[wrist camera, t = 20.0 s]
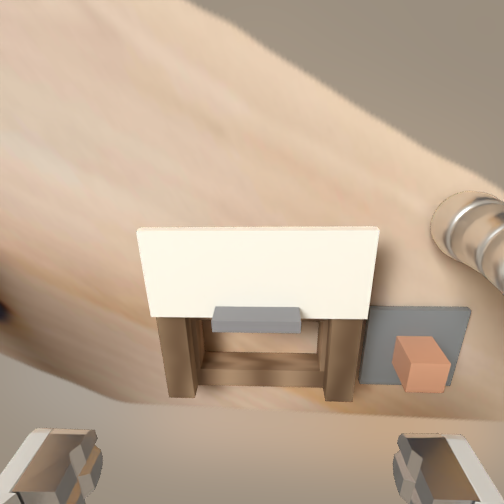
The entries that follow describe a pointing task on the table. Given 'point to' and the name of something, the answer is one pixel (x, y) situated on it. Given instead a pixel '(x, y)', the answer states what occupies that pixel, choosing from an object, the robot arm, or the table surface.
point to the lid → (259, 274)
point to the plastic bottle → (472, 233)
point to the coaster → (408, 324)
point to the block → (420, 364)
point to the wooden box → (260, 360)
